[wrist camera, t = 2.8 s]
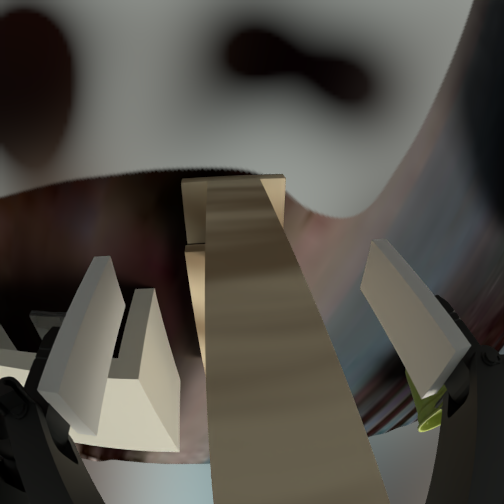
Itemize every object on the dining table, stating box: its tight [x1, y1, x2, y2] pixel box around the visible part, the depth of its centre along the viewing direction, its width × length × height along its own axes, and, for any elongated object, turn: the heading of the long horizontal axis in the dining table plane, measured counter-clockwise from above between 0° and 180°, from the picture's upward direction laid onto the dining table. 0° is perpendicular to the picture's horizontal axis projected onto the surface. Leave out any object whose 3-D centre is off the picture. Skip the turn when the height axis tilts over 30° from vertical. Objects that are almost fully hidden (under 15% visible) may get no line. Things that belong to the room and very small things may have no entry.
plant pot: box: [405, 370, 447, 432], centre depth 29 cm, size 9×9×9 cm
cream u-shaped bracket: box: [0, 288, 180, 452], centre depth 20 cm, size 20×12×8 cm, turn 90°
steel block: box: [29, 310, 67, 339], centre depth 23 cm, size 6×6×1 cm
